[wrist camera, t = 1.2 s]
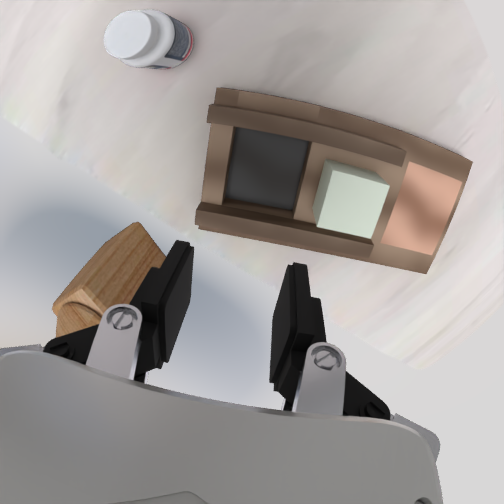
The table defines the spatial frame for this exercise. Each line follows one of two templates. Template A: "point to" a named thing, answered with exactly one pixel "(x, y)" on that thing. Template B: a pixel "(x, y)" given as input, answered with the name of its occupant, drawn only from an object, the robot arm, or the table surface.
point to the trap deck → (309, 173)
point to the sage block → (349, 199)
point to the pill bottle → (148, 39)
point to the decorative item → (107, 279)
